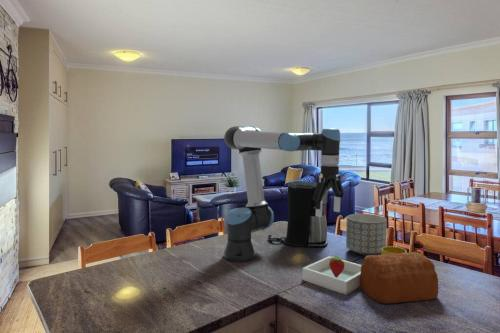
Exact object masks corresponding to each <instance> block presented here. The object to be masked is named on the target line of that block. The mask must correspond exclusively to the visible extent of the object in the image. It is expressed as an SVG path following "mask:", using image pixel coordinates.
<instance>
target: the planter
mask: <svg viewBox="0 0 500 333" xmlns="http://www.w3.org/2000/svg"><path fill="white" fill-rule="evenodd" d="M387 223H388V222H387V218H386V217H385V216H381V215H376V214H371V213H370V214H368V213H352V214H349V215H347V216H346V230H345V231H346V234H345V235H346V240H345V243H346V244H345V246H346V248H347V249H348V250H350V251H352V252H353V253H355V254H357V255H359V256H364V257H365V256H369V255H379V254H381V249H382V248H383V247H387V226H388V224H387Z"/></svg>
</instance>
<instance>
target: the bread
mask: <svg viewBox="0 0 500 333" xmlns="http://www.w3.org/2000/svg"><path fill="white" fill-rule="evenodd" d="M362 261H363V262H362V264H361V265H362V266H361V274H360V287H359V288H360V289H361V290H362V291H363V292H364V293H365V294H366V295H368V296H369V297H370V298H372V299H373V301H374V300H375V301H376V302H378V303H380V304H383V305H384V304H385V305H386V304H397V303H408V302H419V301H429V300H436V299H437V298H438V294H439V278H438V274H437V272H436V268H435V265H434V262H433V261H431V259H430V258H429V257H427V256H425V255H424V254H423V253H421V252H418V251H411V252H407V253H392V254H382V255H381V254H376V255H369V256H364V258H363V260H362Z"/></svg>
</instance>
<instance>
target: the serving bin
mask: <svg viewBox="0 0 500 333" xmlns="http://www.w3.org/2000/svg"><path fill="white" fill-rule="evenodd" d="M332 258H335V257H334V256H326V257H324V258H321V259H320V260H318V261H315V262H314V263H313V262H312V263H310V264H308V265H306V266H303V267H302V280H303V281H305V282H308V283H311V284H314V285H317V286H320V287H322V288H325V289H328V290H331V291H333V292H335V293H336V292H337V293H339V294H342V295H345V296H347V295H349V294H350V293H352V292H353V291H355V290H357V289H358V288H361V287H360V274H361V266H362V264H360V263H355V262H351V261H348V260H346V259H341V260H342V261H343V262H344V269H343V271H342V273H341V274H340V275H339V276H338V277H335V276H334V274H333V273H332V271H331V269H330V265H329V263H330V260H331V259H332Z"/></svg>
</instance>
